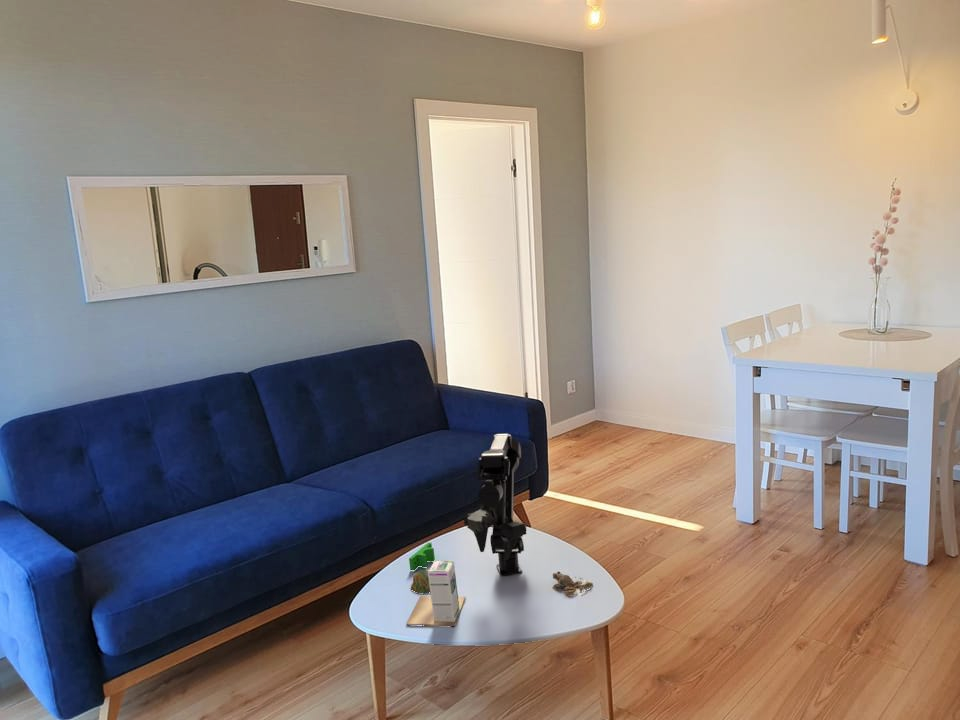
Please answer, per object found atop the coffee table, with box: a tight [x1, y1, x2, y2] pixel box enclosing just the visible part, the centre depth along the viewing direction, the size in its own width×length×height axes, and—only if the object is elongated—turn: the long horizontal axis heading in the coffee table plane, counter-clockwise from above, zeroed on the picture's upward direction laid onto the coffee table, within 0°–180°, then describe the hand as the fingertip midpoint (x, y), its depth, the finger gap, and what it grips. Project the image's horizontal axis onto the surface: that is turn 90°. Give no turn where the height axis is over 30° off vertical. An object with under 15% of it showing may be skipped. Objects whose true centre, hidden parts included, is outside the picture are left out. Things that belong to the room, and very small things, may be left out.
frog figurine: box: [551, 571, 594, 598], centre depth 206 cm, size 12×12×4 cm
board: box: [405, 595, 466, 628], centre depth 200 cm, size 13×14×1 cm
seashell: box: [410, 570, 430, 595], centre depth 214 cm, size 10×4×10 cm
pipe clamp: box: [408, 542, 436, 570], centre depth 227 cm, size 11×4×5 cm, turn 152°
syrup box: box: [427, 560, 460, 622], centre depth 194 cm, size 6×6×14 cm
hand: (494, 555), depth 203 cm, fingers open, 9 cm apart
